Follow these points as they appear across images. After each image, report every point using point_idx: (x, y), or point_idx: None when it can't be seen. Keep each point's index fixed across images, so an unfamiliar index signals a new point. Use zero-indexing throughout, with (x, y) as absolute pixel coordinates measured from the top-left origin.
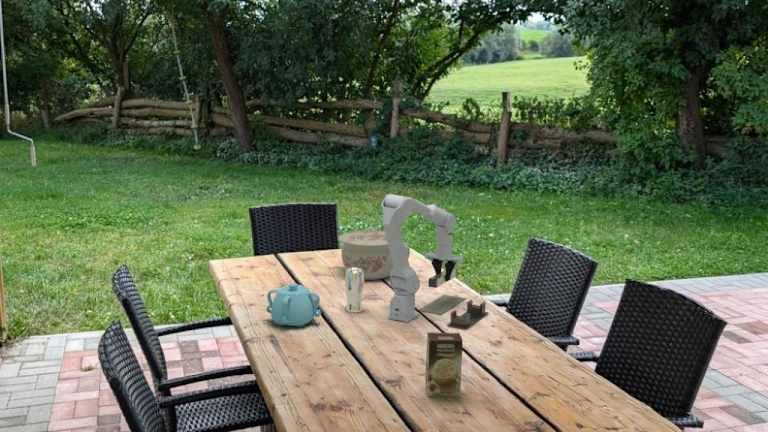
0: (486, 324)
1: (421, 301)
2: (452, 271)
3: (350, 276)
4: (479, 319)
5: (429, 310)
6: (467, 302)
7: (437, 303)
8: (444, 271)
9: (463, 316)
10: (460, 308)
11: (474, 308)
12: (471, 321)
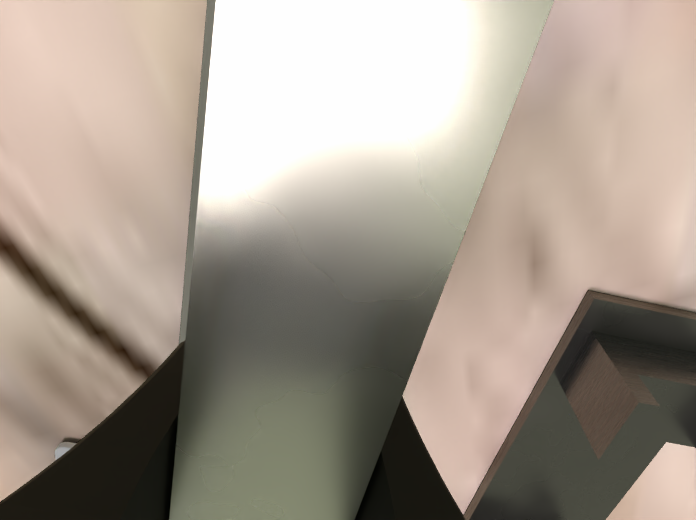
0: (681, 496)
1: (75, 160)
2: (438, 283)
3: None
4: (646, 458)
5: None
6: (599, 458)
7: None
8: (236, 395)
9: (532, 452)
10: (496, 253)
11: (643, 433)
12: (587, 511)
